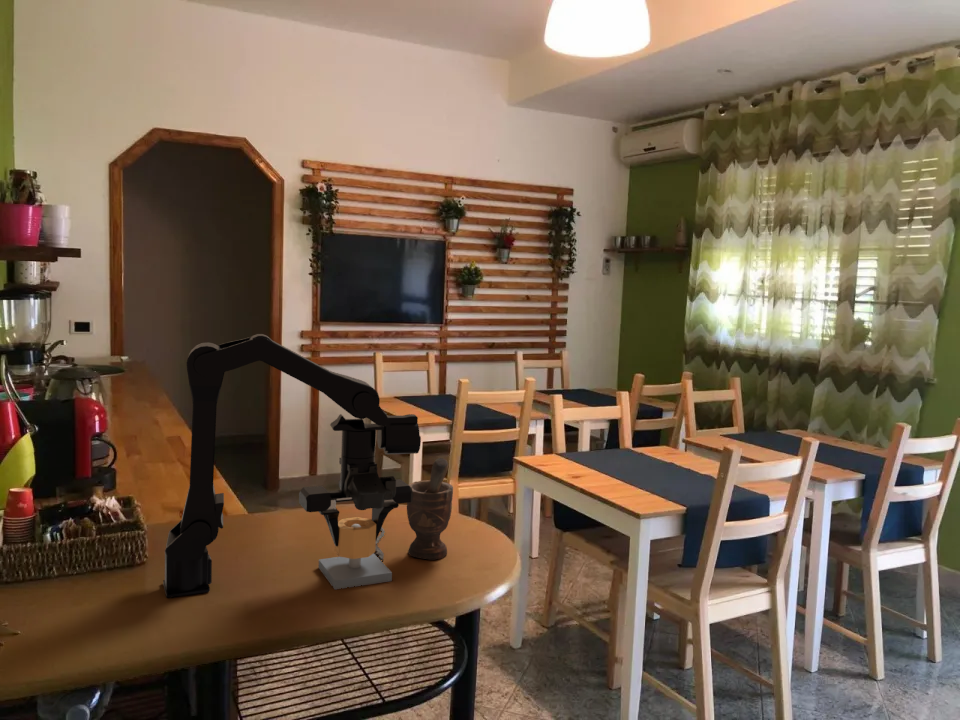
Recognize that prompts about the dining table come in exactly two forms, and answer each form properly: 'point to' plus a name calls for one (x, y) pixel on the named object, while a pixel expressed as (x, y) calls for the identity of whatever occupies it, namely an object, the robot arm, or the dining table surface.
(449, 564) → the dining table surface
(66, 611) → the dining table surface
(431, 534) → the mortar and pestle
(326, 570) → the pin base
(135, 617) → the dining table surface
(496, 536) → the dining table surface
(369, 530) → the collar
